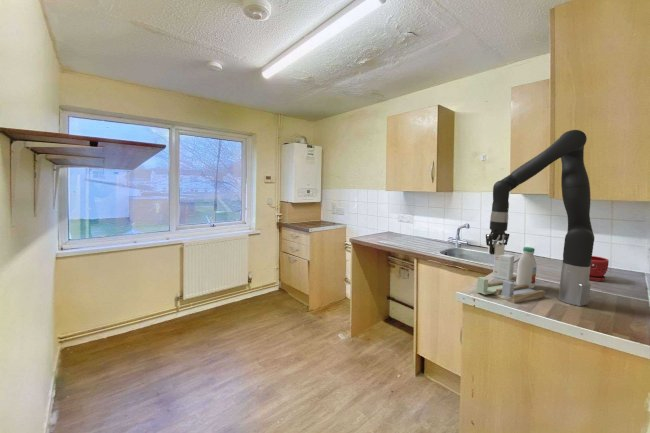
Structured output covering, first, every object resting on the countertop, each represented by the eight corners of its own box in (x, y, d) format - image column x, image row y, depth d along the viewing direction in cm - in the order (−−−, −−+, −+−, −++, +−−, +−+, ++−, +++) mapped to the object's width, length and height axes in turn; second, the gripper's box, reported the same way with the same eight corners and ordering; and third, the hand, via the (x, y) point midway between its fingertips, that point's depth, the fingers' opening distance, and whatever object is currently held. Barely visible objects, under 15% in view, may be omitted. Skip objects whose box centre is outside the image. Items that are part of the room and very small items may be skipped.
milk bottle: (526, 289, 139) (530, 250, 137) (512, 284, 147) (516, 246, 144) (538, 288, 141) (542, 249, 139) (523, 282, 149) (527, 245, 146)
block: (503, 254, 141) (504, 245, 140) (496, 255, 139) (497, 245, 139) (494, 252, 146) (495, 242, 145) (487, 253, 144) (488, 243, 143)
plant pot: (595, 275, 163) (598, 255, 161) (612, 283, 150) (615, 261, 148) (569, 273, 166) (571, 253, 164) (583, 281, 153) (585, 259, 152)
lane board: (544, 297, 130) (545, 291, 130) (513, 303, 123) (514, 296, 123) (511, 285, 145) (511, 279, 144) (482, 289, 138) (482, 283, 138)
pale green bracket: (513, 289, 136) (515, 276, 135) (484, 294, 129) (485, 280, 128) (504, 286, 140) (505, 272, 140) (475, 290, 134) (476, 276, 133)
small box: (512, 278, 156) (515, 255, 154) (508, 280, 152) (510, 257, 150) (496, 274, 162) (498, 252, 160) (492, 276, 158) (494, 254, 156)
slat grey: (539, 293, 131) (541, 279, 131) (510, 298, 125) (512, 284, 124) (528, 289, 136) (530, 276, 135) (500, 294, 129) (501, 280, 129)
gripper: (495, 222, 134) (492, 256, 137) (516, 221, 139) (513, 254, 141) (481, 220, 141) (478, 253, 144) (502, 219, 146) (499, 251, 148)
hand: (495, 253), depth 142 cm, fingers closed on block, 5 cm apart
